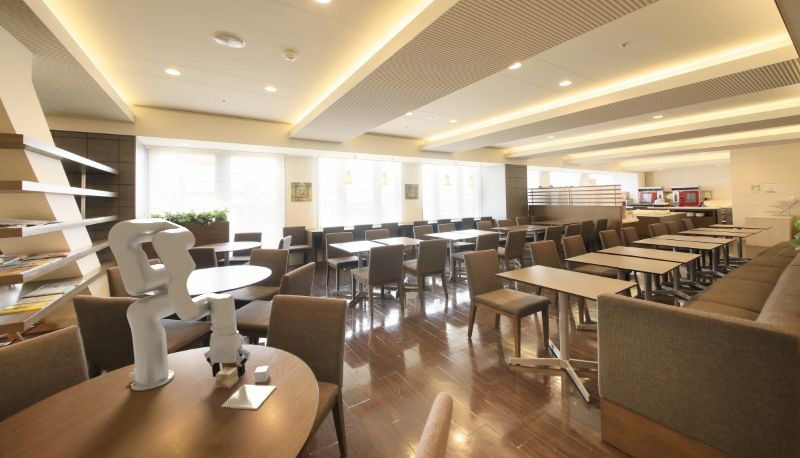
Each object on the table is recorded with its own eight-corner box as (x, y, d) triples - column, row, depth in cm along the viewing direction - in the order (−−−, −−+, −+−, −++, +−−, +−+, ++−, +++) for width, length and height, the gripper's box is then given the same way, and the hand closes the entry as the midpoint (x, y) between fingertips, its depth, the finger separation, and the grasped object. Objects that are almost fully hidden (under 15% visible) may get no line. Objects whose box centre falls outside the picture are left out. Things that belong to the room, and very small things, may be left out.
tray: (221, 407, 102) (221, 405, 102) (244, 386, 114) (244, 384, 114) (256, 409, 101) (256, 407, 101) (275, 387, 113) (275, 385, 113)
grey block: (255, 382, 117) (254, 372, 116) (258, 377, 121) (257, 366, 120) (266, 381, 117) (265, 371, 117) (269, 376, 121) (268, 365, 121)
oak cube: (216, 387, 114) (215, 374, 114) (225, 379, 119) (225, 366, 119) (229, 388, 113) (228, 374, 113) (238, 380, 118) (237, 367, 118)
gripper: (194, 333, 112) (199, 380, 113) (240, 333, 110) (245, 381, 111) (210, 325, 119) (214, 369, 121) (253, 325, 117) (257, 370, 119)
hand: (229, 375), depth 116 cm, fingers open, 9 cm apart
